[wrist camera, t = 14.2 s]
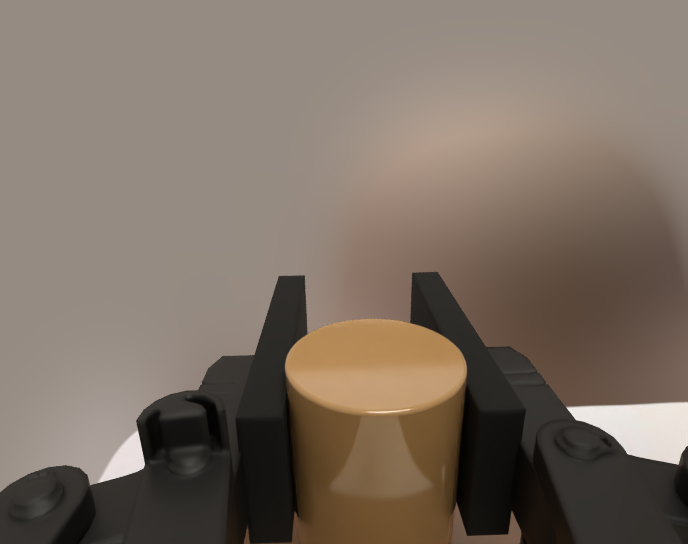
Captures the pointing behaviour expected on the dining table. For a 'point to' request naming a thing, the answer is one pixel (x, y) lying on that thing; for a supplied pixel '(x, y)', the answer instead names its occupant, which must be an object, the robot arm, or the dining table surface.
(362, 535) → the lid
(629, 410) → the dining table surface
